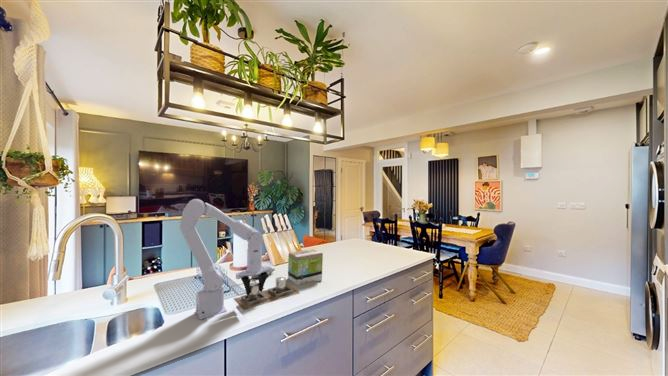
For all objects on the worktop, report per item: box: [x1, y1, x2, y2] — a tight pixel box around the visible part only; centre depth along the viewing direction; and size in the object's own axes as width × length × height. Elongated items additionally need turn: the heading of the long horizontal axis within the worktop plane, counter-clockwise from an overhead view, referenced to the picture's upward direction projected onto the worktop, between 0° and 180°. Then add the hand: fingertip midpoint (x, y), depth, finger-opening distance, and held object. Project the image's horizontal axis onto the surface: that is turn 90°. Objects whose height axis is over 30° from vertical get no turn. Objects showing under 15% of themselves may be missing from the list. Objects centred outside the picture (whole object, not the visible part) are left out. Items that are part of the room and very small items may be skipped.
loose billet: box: [248, 282, 260, 301], centre depth 106 cm, size 4×4×6 cm
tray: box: [229, 280, 265, 296], centre depth 118 cm, size 12×12×2 cm
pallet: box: [233, 284, 300, 311], centre depth 109 cm, size 25×12×3 cm, turn 129°
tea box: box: [287, 248, 324, 285], centre depth 130 cm, size 15×10×15 cm, turn 129°
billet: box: [275, 276, 287, 294], centre depth 113 cm, size 4×4×6 cm
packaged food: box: [250, 265, 276, 279], centre depth 136 cm, size 9×12×5 cm
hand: (254, 292), depth 105 cm, fingers open, 5 cm apart
